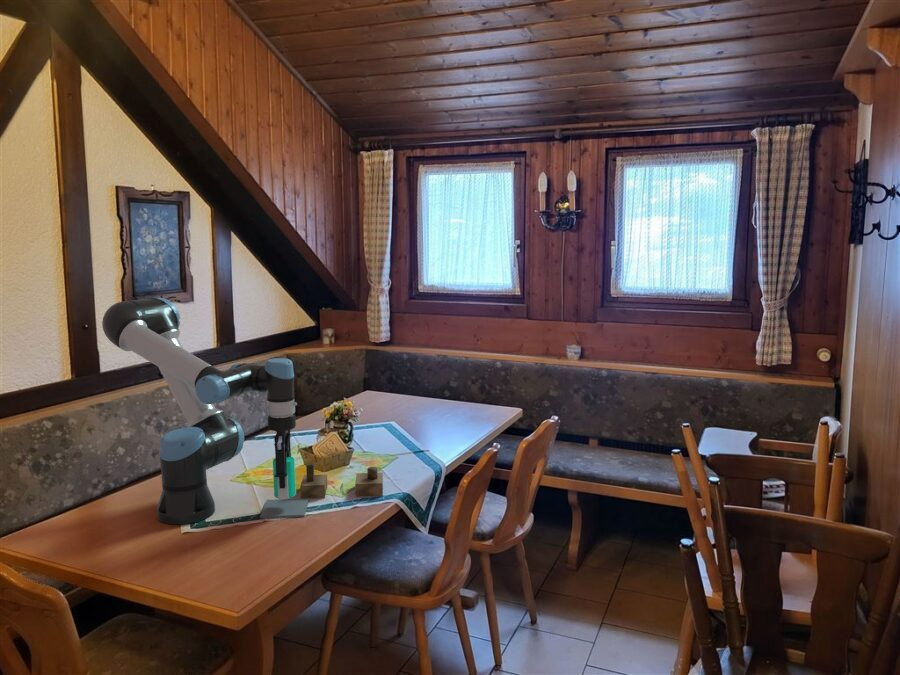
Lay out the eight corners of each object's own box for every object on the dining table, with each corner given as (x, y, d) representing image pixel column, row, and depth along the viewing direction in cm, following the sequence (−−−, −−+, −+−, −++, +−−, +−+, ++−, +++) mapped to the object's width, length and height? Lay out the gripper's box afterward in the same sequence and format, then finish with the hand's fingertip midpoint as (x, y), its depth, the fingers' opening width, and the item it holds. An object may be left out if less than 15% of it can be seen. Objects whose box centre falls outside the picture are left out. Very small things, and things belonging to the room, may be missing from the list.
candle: (290, 499, 200) (288, 458, 198) (270, 498, 201) (268, 456, 199) (299, 491, 206) (297, 451, 204) (279, 490, 207) (278, 450, 205)
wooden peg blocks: (300, 498, 212) (299, 469, 211) (304, 487, 221) (303, 459, 219) (382, 496, 214) (382, 467, 213) (382, 485, 223) (382, 457, 222)
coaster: (260, 518, 198) (260, 516, 198) (267, 501, 210) (267, 499, 210) (304, 516, 199) (304, 514, 199) (308, 500, 211) (308, 498, 211)
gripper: (290, 423, 191) (294, 506, 195) (299, 405, 210) (302, 481, 213) (262, 424, 190) (266, 507, 194) (273, 406, 209) (276, 482, 213)
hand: (285, 493), depth 204 cm, fingers closed on candle, 6 cm apart
